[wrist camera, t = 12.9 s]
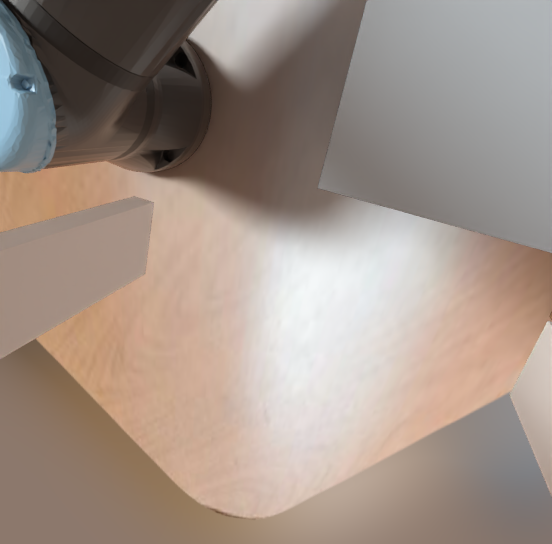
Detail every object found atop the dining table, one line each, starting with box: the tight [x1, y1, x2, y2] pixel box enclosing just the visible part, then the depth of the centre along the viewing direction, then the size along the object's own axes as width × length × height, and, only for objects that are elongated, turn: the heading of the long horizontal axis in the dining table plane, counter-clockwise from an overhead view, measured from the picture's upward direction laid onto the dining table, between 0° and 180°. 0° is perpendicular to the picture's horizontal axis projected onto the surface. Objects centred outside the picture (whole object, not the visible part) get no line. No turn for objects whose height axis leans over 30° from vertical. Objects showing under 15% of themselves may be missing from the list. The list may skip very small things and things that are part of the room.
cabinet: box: [318, 0, 552, 253], centre depth 29 cm, size 25×16×22 cm, turn 77°
